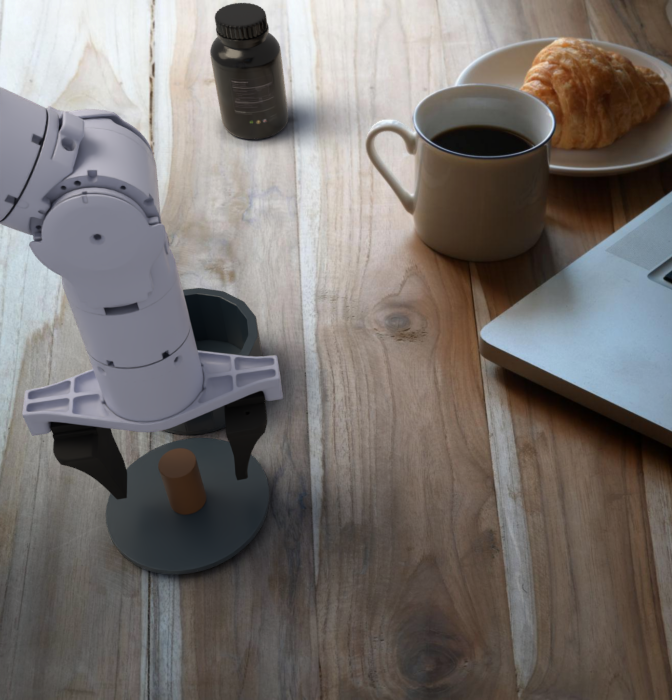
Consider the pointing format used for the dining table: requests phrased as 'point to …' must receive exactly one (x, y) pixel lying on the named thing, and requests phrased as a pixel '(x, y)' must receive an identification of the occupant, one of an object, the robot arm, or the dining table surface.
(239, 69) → the supplement bottle
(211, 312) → the pot
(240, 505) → the lid
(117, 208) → the robot arm
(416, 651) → the dining table surface
